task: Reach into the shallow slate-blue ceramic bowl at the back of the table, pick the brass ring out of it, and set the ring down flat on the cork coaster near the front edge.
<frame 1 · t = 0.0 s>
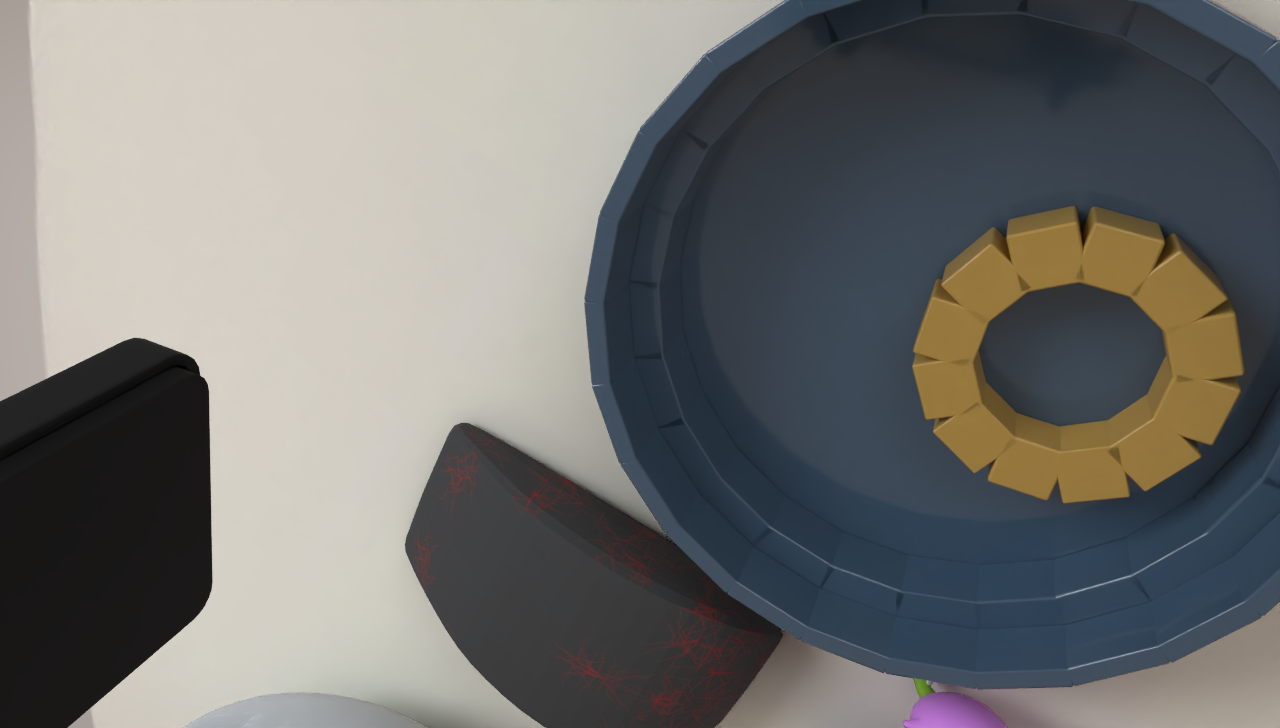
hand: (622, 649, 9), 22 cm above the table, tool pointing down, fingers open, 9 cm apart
bowl: (960, 308, 29), on the table
ring: (1068, 347, 28), resting on bowl
purple piece: (943, 708, 35), on the table
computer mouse: (593, 572, 38), on the table
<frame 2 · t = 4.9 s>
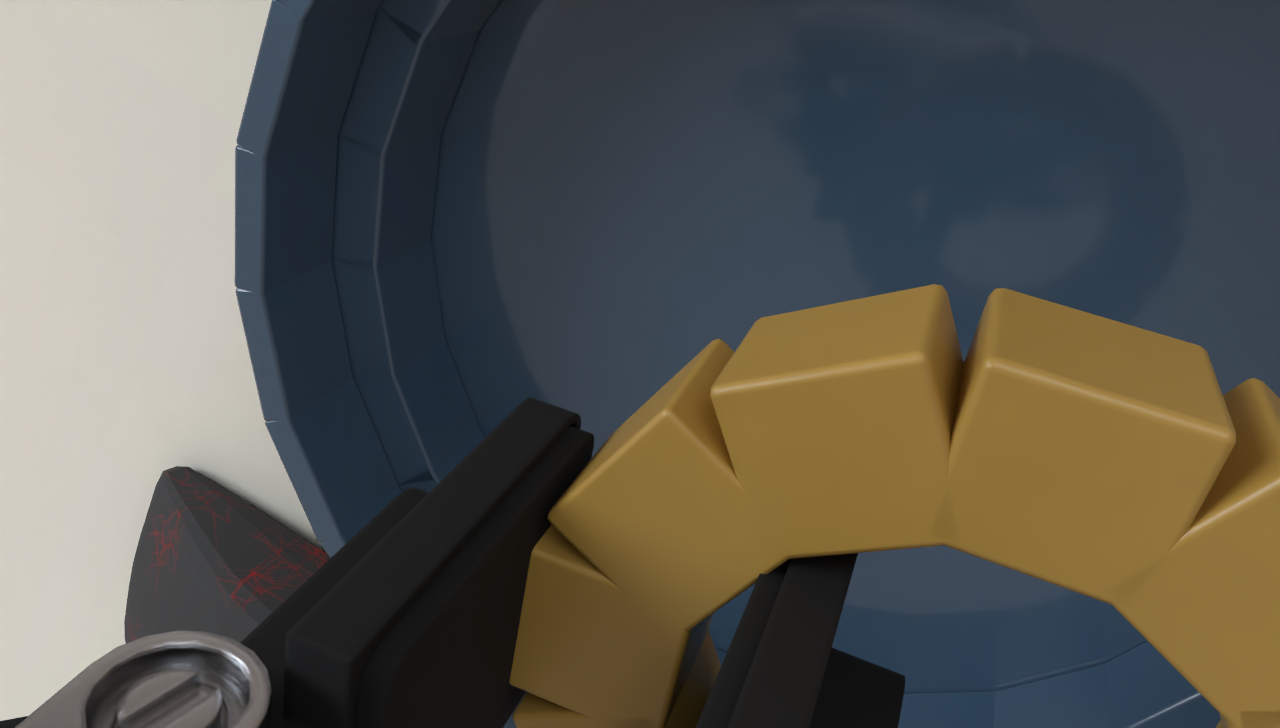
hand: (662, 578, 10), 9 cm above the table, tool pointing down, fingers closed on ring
bowl: (844, 304, 19), on the table
ring: (944, 666, 10), point 9 cm above the table, touching gripper
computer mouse: (370, 674, 27), on the table
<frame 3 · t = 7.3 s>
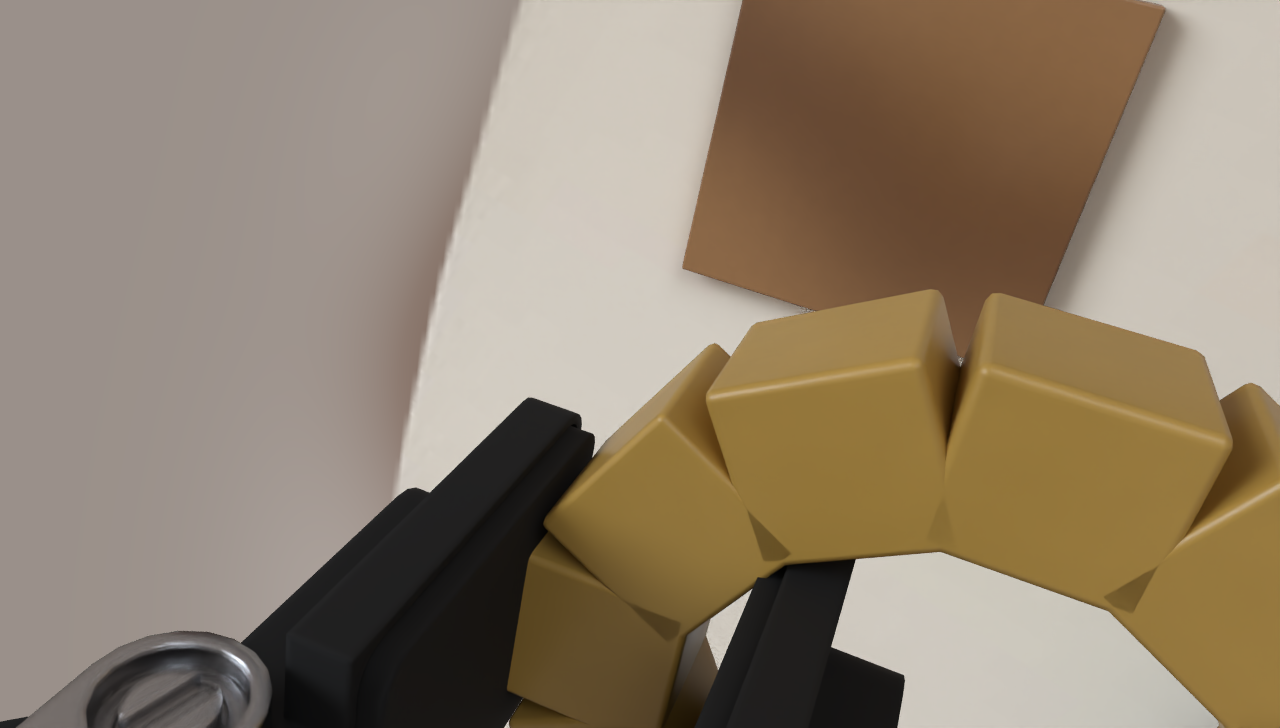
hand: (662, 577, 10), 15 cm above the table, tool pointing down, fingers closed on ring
ring: (942, 671, 10), point 15 cm above the table, touching gripper
coaster: (896, 149, 22), on the table
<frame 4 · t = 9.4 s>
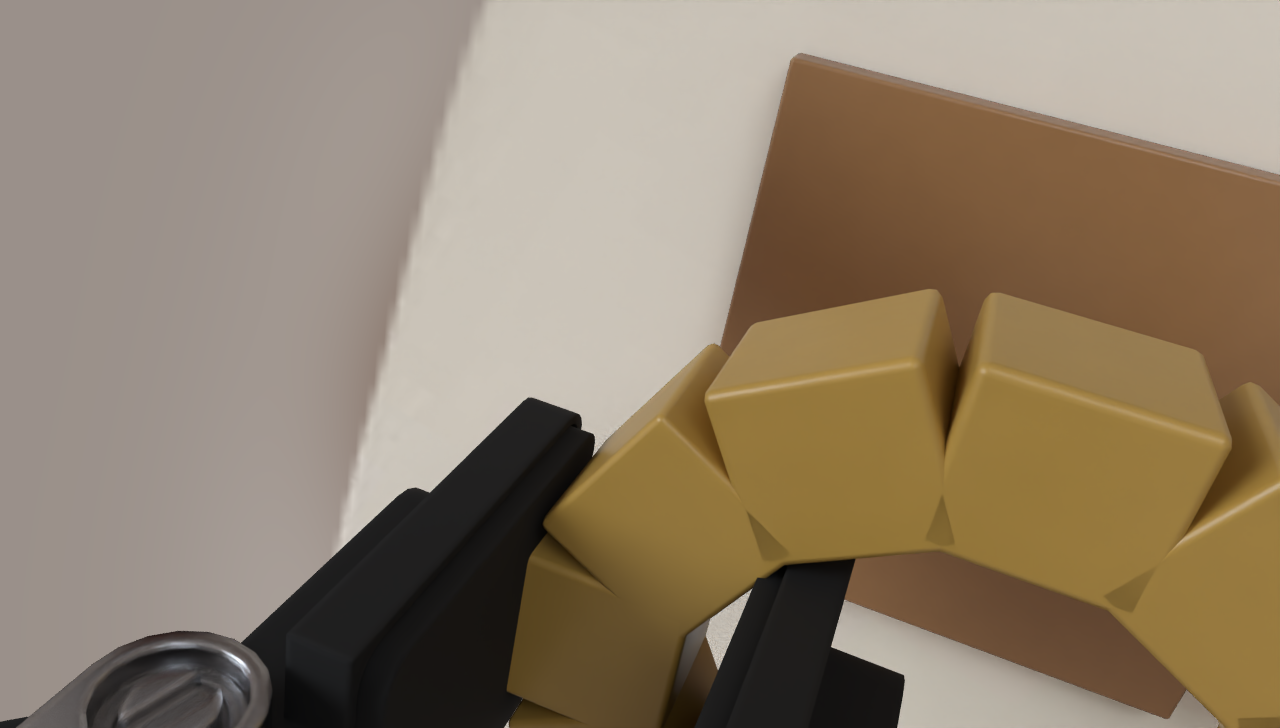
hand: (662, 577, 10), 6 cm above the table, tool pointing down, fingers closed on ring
ring: (942, 671, 10), point 6 cm above the table, touching gripper
coaster: (994, 397, 15), on the table
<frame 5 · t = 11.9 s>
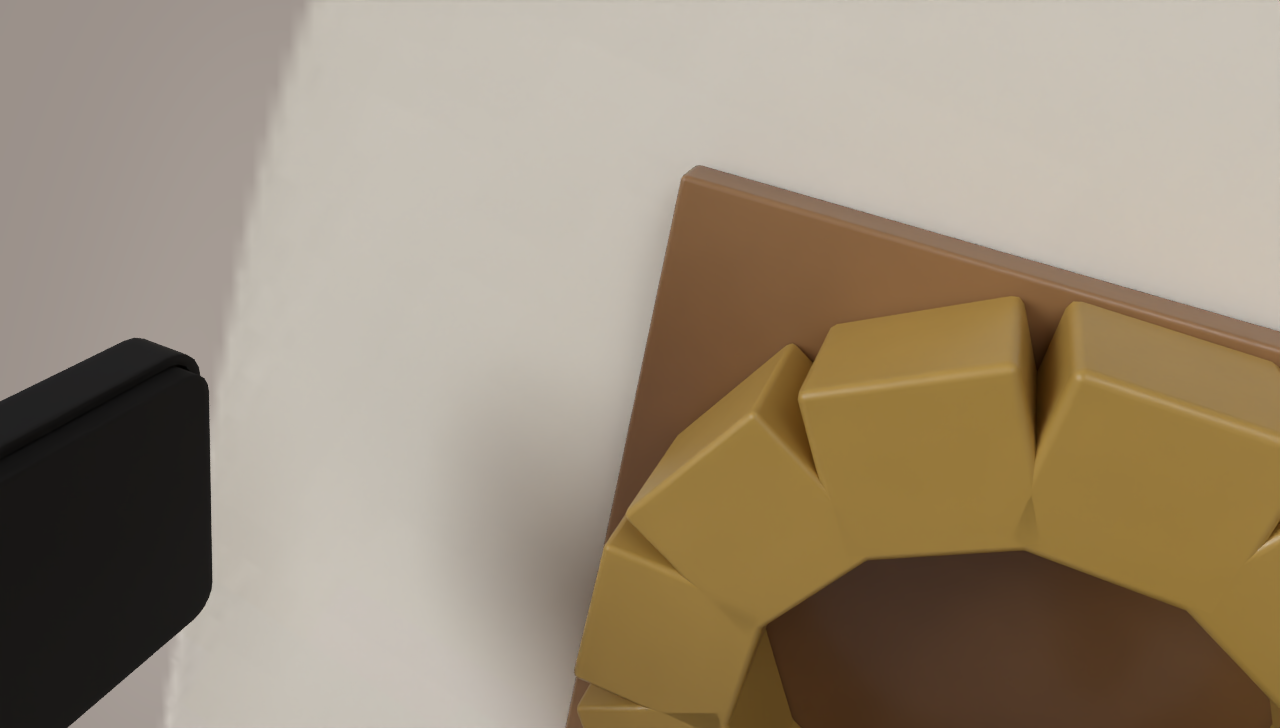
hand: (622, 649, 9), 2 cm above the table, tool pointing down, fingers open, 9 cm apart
ring: (1000, 667, 10), resting on coaster
coaster: (973, 629, 11), on the table
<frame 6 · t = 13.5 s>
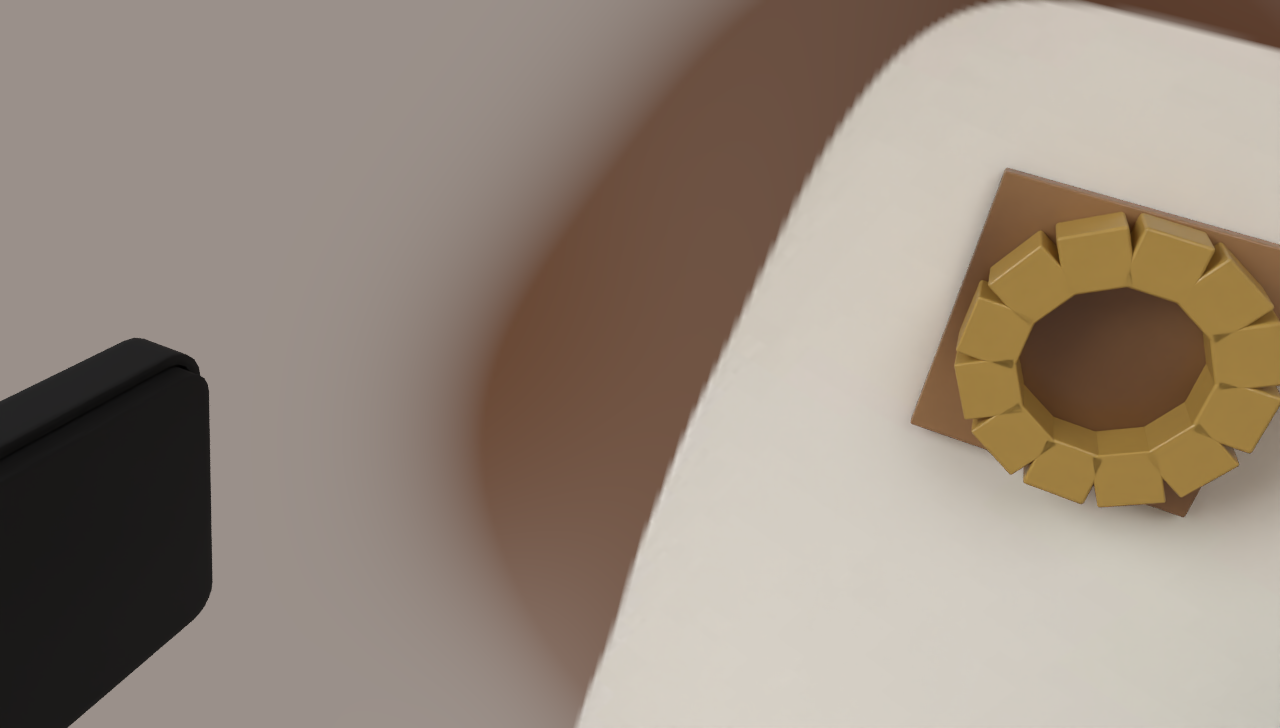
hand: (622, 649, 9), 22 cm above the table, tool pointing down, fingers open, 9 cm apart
ring: (1108, 352, 28), resting on coaster
coaster: (1097, 343, 29), on the table
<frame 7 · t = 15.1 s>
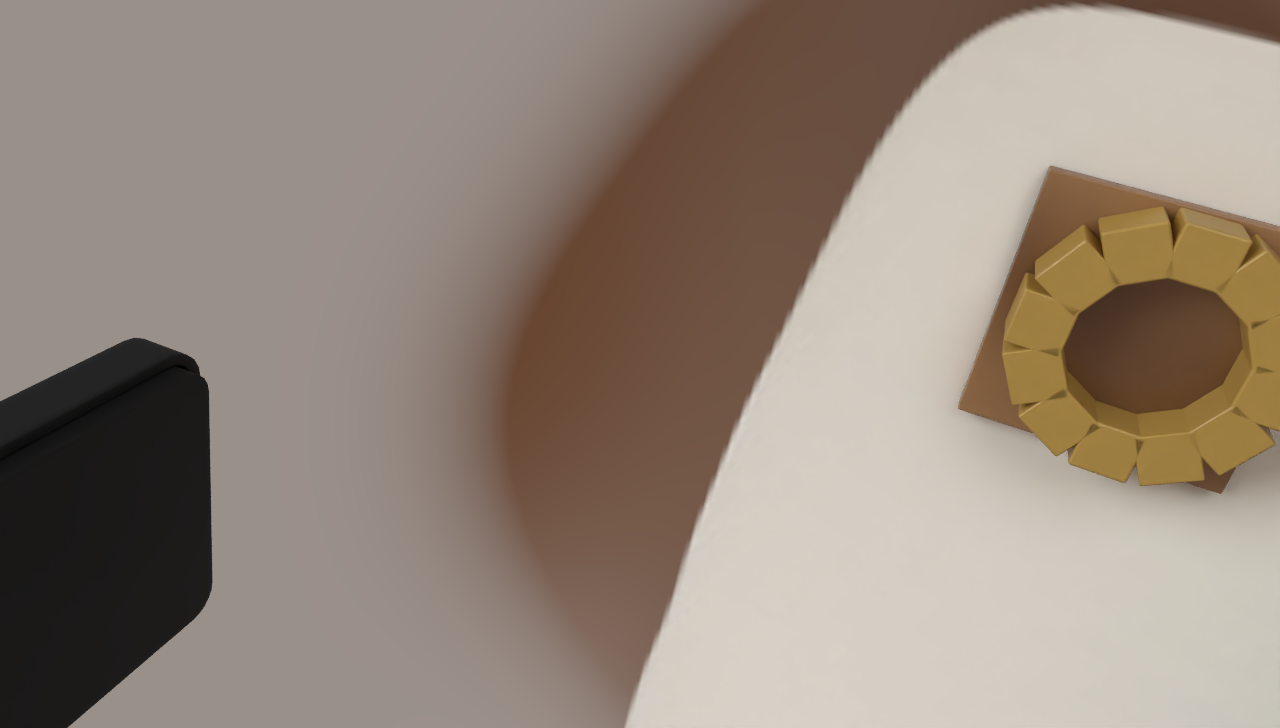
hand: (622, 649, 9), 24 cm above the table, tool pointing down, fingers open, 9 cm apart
ring: (1149, 339, 30), resting on coaster
coaster: (1137, 331, 30), on the table
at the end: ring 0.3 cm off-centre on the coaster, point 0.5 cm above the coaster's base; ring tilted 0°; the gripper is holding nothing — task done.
